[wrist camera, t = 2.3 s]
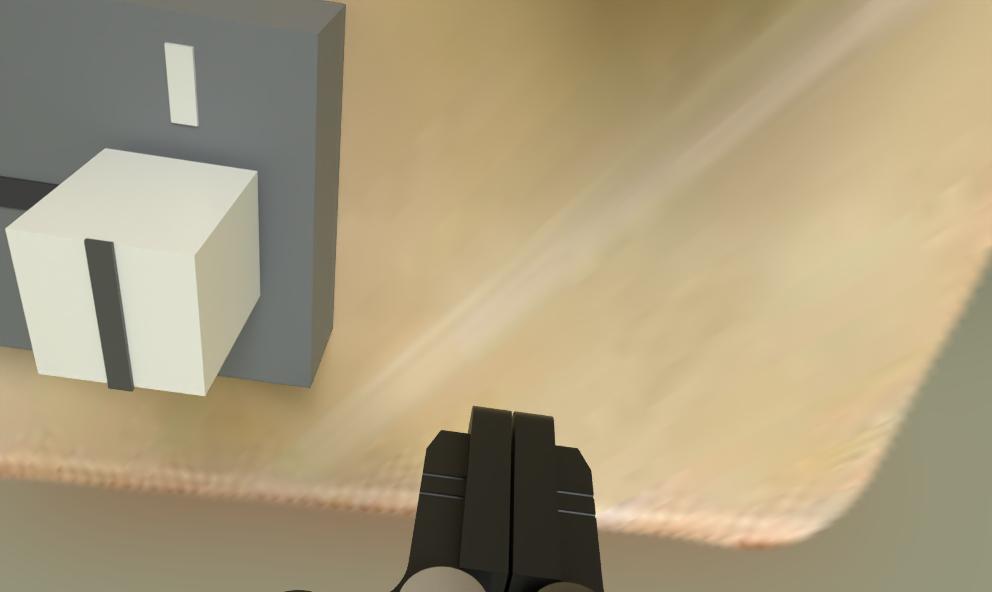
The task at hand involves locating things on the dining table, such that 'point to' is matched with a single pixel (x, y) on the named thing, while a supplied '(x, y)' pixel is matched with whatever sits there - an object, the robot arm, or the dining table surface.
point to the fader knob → (139, 271)
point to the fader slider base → (189, 135)
